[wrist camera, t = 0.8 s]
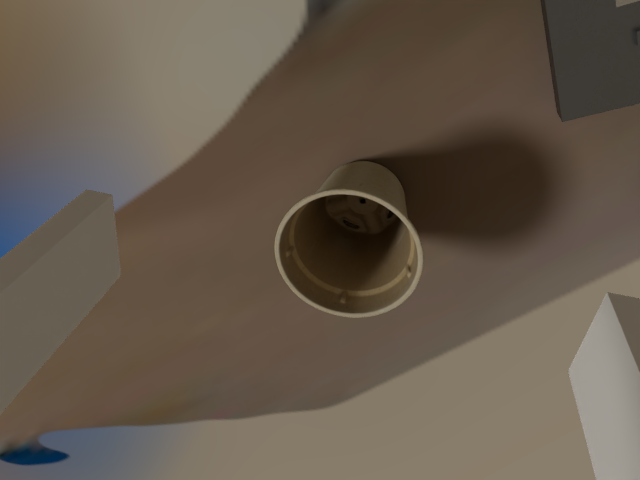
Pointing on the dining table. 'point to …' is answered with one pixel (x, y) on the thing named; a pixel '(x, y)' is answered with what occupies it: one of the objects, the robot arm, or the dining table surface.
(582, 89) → the console
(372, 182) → the flower pot
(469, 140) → the dining table surface
